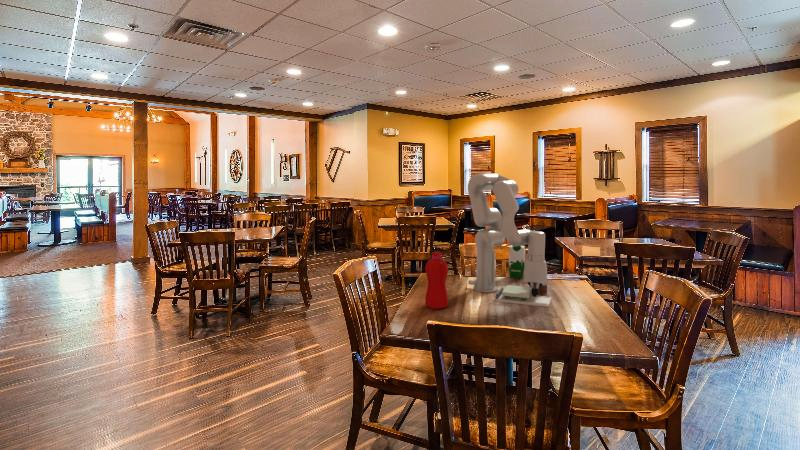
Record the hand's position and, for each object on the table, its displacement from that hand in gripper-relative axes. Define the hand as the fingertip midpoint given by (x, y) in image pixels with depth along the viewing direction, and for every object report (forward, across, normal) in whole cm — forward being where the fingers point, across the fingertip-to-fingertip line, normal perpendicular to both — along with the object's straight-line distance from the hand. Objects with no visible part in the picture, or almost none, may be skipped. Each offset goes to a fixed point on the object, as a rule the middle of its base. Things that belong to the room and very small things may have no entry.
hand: (534, 296), depth 210 cm
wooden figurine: (+3, 0, +17) cm, 17 cm away
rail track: (+3, -5, 0) cm, 6 cm away
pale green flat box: (+1, -8, 0) cm, 8 cm away
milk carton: (+3, -16, +47) cm, 50 cm away
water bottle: (+3, -39, -26) cm, 47 cm away
